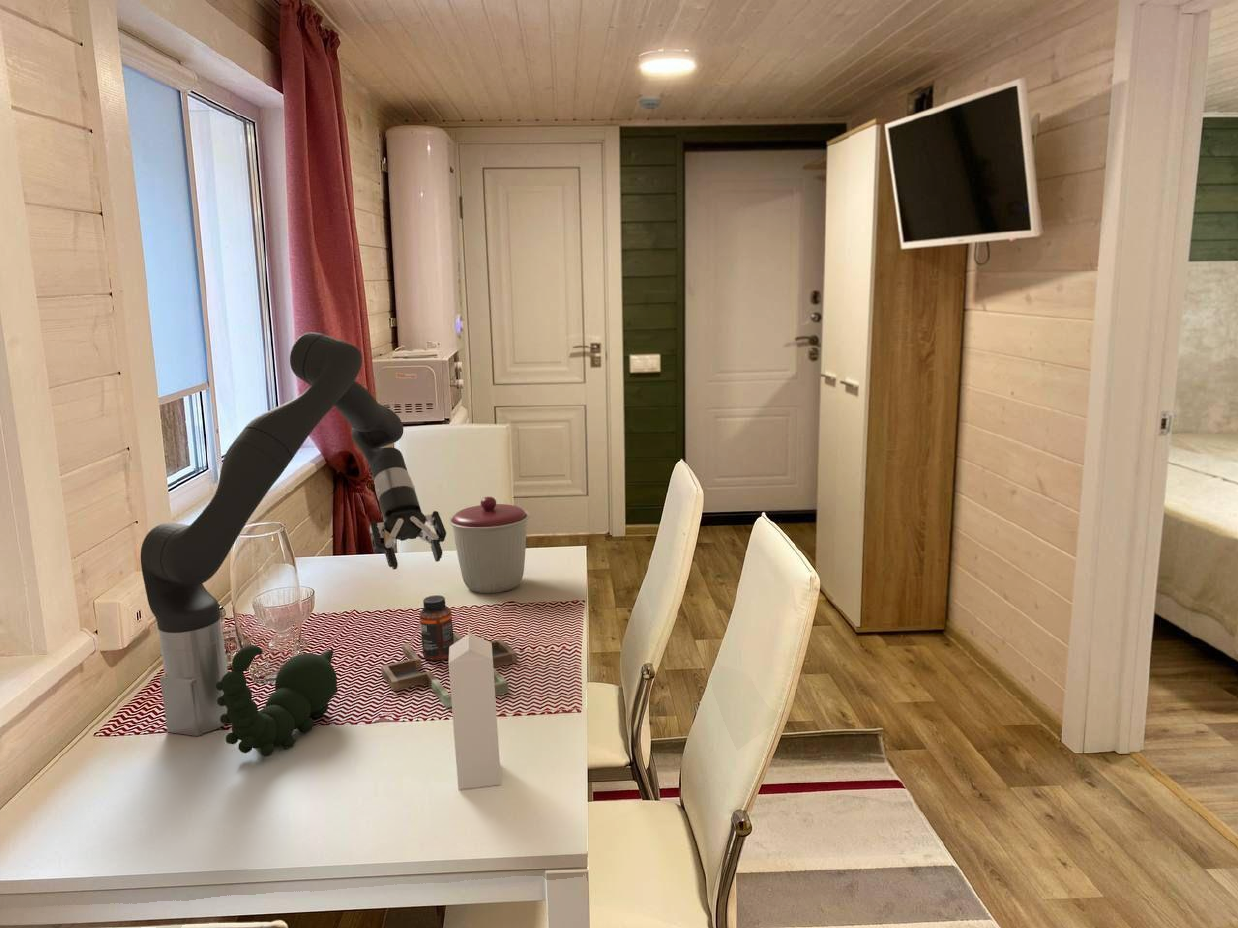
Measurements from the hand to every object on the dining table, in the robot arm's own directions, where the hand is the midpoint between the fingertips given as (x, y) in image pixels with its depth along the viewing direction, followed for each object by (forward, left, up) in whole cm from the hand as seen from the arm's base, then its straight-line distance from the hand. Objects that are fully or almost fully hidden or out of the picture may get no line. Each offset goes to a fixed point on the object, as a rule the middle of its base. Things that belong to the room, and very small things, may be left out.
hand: (417, 563), depth 182 cm
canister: (+31, -1, -16) cm, 35 cm away
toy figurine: (-41, 0, -16) cm, 44 cm away
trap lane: (-13, -14, -15) cm, 24 cm away
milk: (-45, -35, -16) cm, 59 cm away
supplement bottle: (-7, -8, -16) cm, 19 cm away
